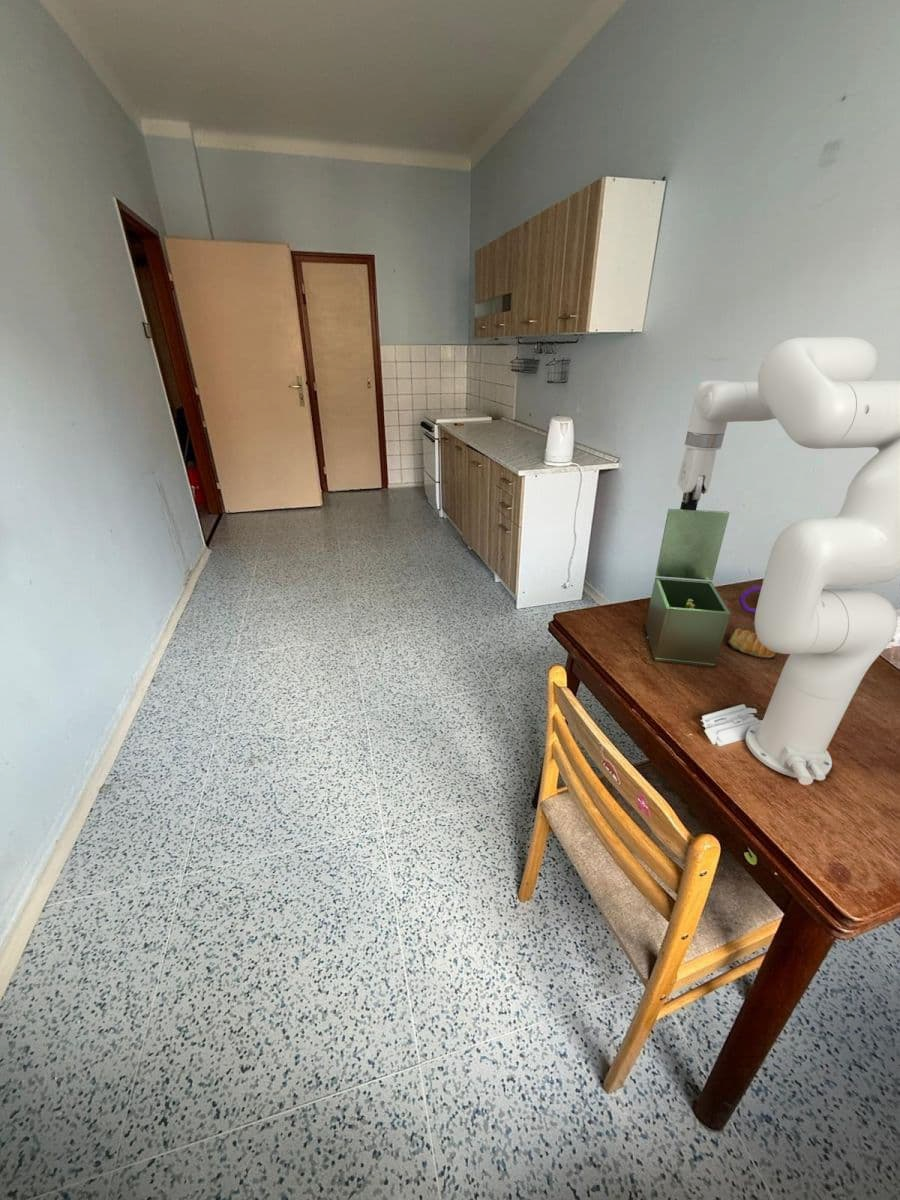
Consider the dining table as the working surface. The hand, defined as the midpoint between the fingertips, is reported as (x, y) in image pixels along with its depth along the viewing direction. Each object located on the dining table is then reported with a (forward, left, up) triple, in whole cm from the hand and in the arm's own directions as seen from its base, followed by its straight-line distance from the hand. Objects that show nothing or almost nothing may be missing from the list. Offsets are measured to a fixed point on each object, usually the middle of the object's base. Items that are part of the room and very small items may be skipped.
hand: (685, 518), depth 115 cm
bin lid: (-9, 0, -4) cm, 10 cm away
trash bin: (-17, 0, -26) cm, 31 cm away
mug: (0, -26, -26) cm, 37 cm away
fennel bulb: (-20, 0, -25) cm, 32 cm away
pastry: (-15, -16, -26) cm, 34 cm away
